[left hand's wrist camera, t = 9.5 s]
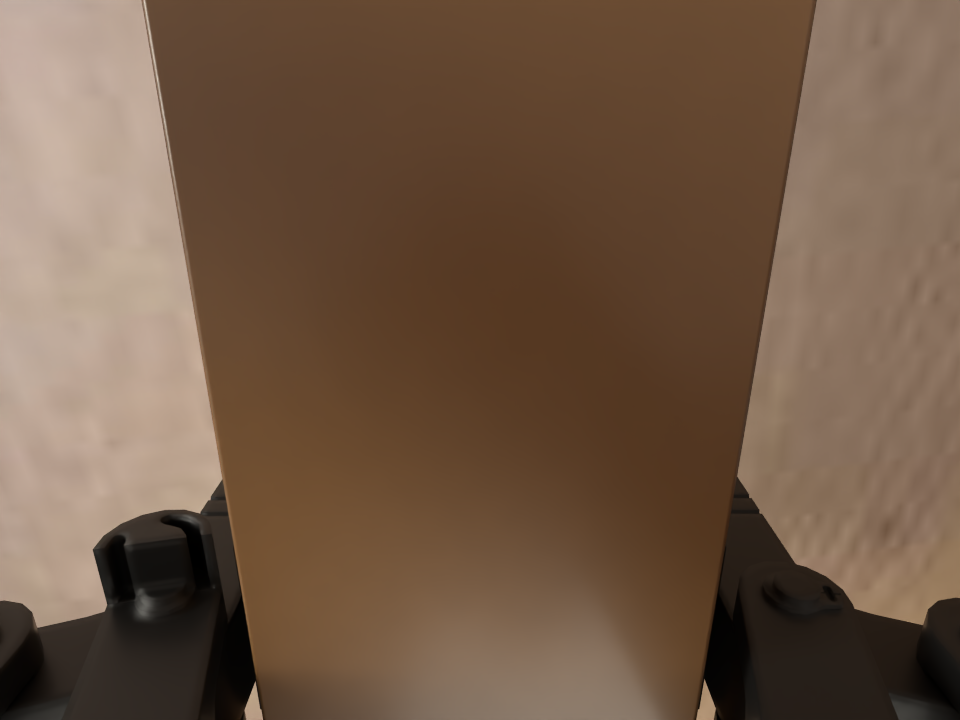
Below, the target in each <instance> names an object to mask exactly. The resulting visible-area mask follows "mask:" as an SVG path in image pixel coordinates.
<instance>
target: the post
mask: <svg viewBox="0 0 960 720" xmlns="http://www.w3.org/2000/svg"><path fill="white" fill-rule="evenodd" d="M816 1H817V0H142V5H143V11H144V17H145V23H146V29H147V34H148V40H149V46H150V52H151V58H152V64H153V70H154V76H155V82H156V88H157V94H158V100H159V106H160V111H161V117H162V123H163V129H164V135H165V141H166V147H167V153H168V159H169V165H170V171H171V177H172V182H173V188H174V194H175V200H176V206H177V212H178V218H179V224H180V230H181V236H182V242H183V248H184V253H185V259H186V265H187V271H188V277H189V283H190V289H191V295H192V301H193V307H194V313H195V319H196V325H197V330H198V336H199V342H200V348H201V354H202V360H203V366H204V372H205V378H206V384H207V390H208V396H209V401H210V407H211V413H212V419H213V425H214V431H215V437H216V443H217V449H218V455H219V461H220V467H221V473H222V478H223V484H224V490H225V496H226V502H227V508H228V514H229V520H230V526H231V532H232V538H233V544H234V549H235V555H236V561H237V567H238V573H239V579H240V585H241V591H242V597H243V603H244V609H245V615H246V620H247V626H248V632H249V638H250V644H251V650H252V656H253V662H254V668H255V674H256V680H257V686H258V692H259V697H260V703H261V709H262V715H263V720H696V718H697V712H698V706H699V700H700V694H701V688H702V682H703V676H704V670H705V664H706V658H707V652H708V646H709V640H710V634H711V628H712V622H713V616H714V610H715V604H716V598H717V592H718V586H719V580H720V574H721V568H722V562H723V557H724V551H725V545H726V539H727V533H728V527H729V521H730V515H731V509H732V503H733V497H734V491H735V485H736V479H737V473H738V467H739V461H740V455H741V449H742V443H743V437H744V431H745V425H746V419H747V413H748V407H749V401H750V395H751V389H752V383H753V377H754V371H755V365H756V359H757V353H758V347H759V341H760V335H761V329H762V324H763V318H764V312H765V306H766V300H767V294H768V288H769V282H770V276H771V270H772V264H773V258H774V252H775V246H776V240H777V234H778V228H779V222H780V216H781V210H782V204H783V198H784V192H785V186H786V180H787V174H788V168H789V162H790V156H791V150H792V144H793V138H794V132H795V126H796V120H797V114H798V108H799V103H800V97H801V91H802V85H803V79H804V73H805V67H806V61H807V55H808V49H809V43H810V37H811V31H812V25H813V19H814V13H815V7H816Z"/></svg>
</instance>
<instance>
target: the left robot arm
mask: <svg viewBox="0 0 960 720" xmlns="http://www.w3.org/2000/svg"><path fill="white" fill-rule="evenodd" d="M93 552H94V556H95V560H96V564H97V567H98V571H99V575H100V579H101V582H102V586H103V590H104V594H105V597H106V601H107V608H106V610H105V612H102V613H99V614H96V615H92V616H89V617H85V618H80V619H76V620H71V621H67V622H63V623H58V624H54V625H49V626H45V627H40V628H37V626H36V623H35V620H34V617H33V614H32V612H31V611H30V610H29V609H28V608H27V607H25V606H24V605H23V604H21V603H15V602H9V601H0V720H246V716H245V711H244V710H245V707H246V704H247V702H248V699H249V696H250V694H251V691H252V689H253V686H254V683H255V681H256V686H257V680H256V674H255V668H254V662H253V656H252V650H251V644H250V638H249V632H248V626H247V620H246V615H245V609H244V603H243V597H242V591H241V585H240V579H239V573H238V567H237V561H236V555H235V549H234V544H233V538H232V532H231V526H230V520H229V514H228V508H227V502H226V496H225V490H224V484H223V479H222V481H221V482H220V484H219V485H218V487H217V488H216V490H215V491H214V493H213V494H212V496H211V500H208V502H207V503H206V505H205V506H204V508H203V509H202V511H201V514H199V513H195V512H191V511H187V510H163V511H159V512H154V513H150V514H145V515H141V516H139V517H137V518H134V519H132V520H129V521H127V522H125V523H122V524H120V525H119V526H117V527H116V528H115V529H113V530H112V531H110V532H109V533H107V534H106V535H104V536H103V537H102V539H101V540H100V541H99V542H98V544H97V545H96V546H95V547H94V549H93ZM704 679H705V681H706V684H707V686H708V689H709V692H710V694H711V697H712V700H713V702H714V705H715V707H716V711H715V716H714V720H960V598H952V599H946V600H940V601H937V602H936V603H935V604H934V605H933V606H932V607H930V608H929V609H928V612H927V615H926V618H925V621H924V624H923V625H919V624H915V623H910V622H905V621H901V620H896V619H892V618H887V617H883V616H878V615H874V614H870V613H867V612H863V611H860V610H857V609H854V606H853V604H852V603H851V601H850V600H849V598H848V597H847V595H846V594H845V592H844V591H843V589H841V588H840V587H839V586H837V585H836V584H835V583H834V582H832V581H831V580H830V579H829V578H827V577H826V576H824V575H822V574H820V573H818V572H815V571H813V570H811V569H809V568H807V567H804V566H800V565H796V564H795V562H794V561H793V559H792V558H791V556H790V555H789V553H788V552H787V550H786V549H785V547H784V546H783V544H782V543H781V542H780V540H779V539H778V537H777V536H776V534H775V533H774V531H773V530H772V528H771V527H770V525H769V524H768V522H767V521H766V519H765V518H764V516H763V515H762V514H760V513H759V509H758V507H757V506H756V504H755V503H754V501H753V500H752V498H749V494H748V492H747V491H746V489H745V488H744V486H743V485H742V483H741V482H740V480H739V479H738V477H737V479H736V485H735V491H734V497H733V503H732V509H731V515H730V521H729V527H728V533H727V539H726V545H725V551H724V557H723V562H722V568H721V574H720V580H719V586H718V592H717V598H716V604H715V610H714V616H713V622H712V628H711V634H710V640H709V646H708V652H707V658H706V664H705V670H704V676H703V682H702V688H701V694H700V700H699V706H698V709H699V707H700V701H701V695H702V689H703V683H704ZM257 692H258V686H257ZM258 698H259V704H260V709H261V703H260V697H259V692H258Z"/></svg>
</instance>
